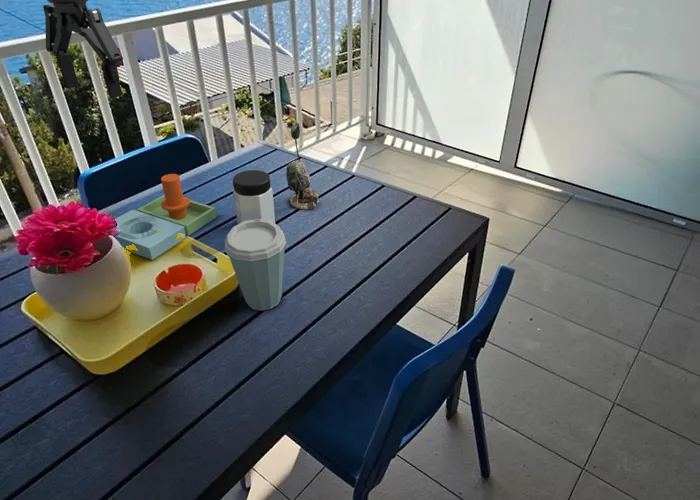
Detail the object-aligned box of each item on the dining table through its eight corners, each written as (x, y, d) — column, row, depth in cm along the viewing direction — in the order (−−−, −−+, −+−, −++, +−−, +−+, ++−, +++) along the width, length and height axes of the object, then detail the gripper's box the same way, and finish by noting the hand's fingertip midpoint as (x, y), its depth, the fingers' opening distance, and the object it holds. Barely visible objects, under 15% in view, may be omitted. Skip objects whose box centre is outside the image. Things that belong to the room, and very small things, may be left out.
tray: (139, 218, 119) (136, 209, 117) (169, 202, 126) (167, 192, 124) (188, 235, 112) (186, 225, 111) (217, 217, 120) (215, 207, 118)
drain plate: (100, 240, 111) (96, 228, 109) (135, 220, 118) (132, 209, 116) (152, 260, 104) (149, 248, 103) (186, 237, 112) (184, 226, 110)
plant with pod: (277, 210, 123) (271, 131, 112) (299, 190, 131) (295, 116, 120) (307, 216, 120) (303, 137, 109) (327, 196, 129) (325, 121, 118)
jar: (233, 219, 119) (227, 173, 112) (266, 211, 122) (261, 166, 115) (245, 237, 112) (239, 189, 105) (279, 228, 115) (275, 181, 109)
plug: (158, 218, 118) (149, 179, 112) (177, 206, 122) (170, 169, 117) (178, 225, 115) (170, 186, 110) (197, 213, 120) (190, 175, 114)
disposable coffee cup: (288, 318, 90) (282, 249, 81) (228, 319, 89) (216, 249, 81) (292, 282, 98) (288, 216, 90) (238, 283, 98) (228, 217, 90)
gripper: (125, -20, 92) (149, 95, 104) (39, -27, 102) (70, 79, 114) (90, -16, 87) (120, 105, 99) (3, -24, 96) (40, 87, 108)
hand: (93, 91), depth 106 cm, fingers open, 13 cm apart
